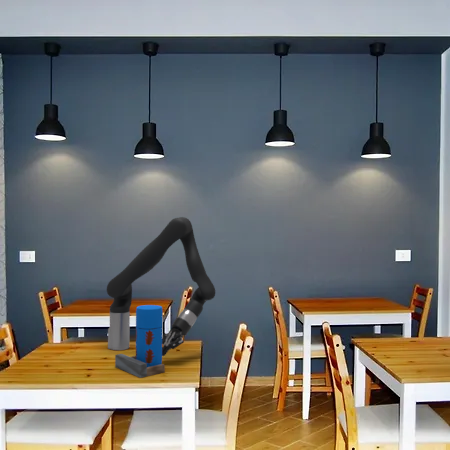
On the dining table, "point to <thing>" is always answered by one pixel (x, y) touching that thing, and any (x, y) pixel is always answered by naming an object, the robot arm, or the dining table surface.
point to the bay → (137, 366)
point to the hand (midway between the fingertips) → (161, 354)
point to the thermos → (149, 334)
